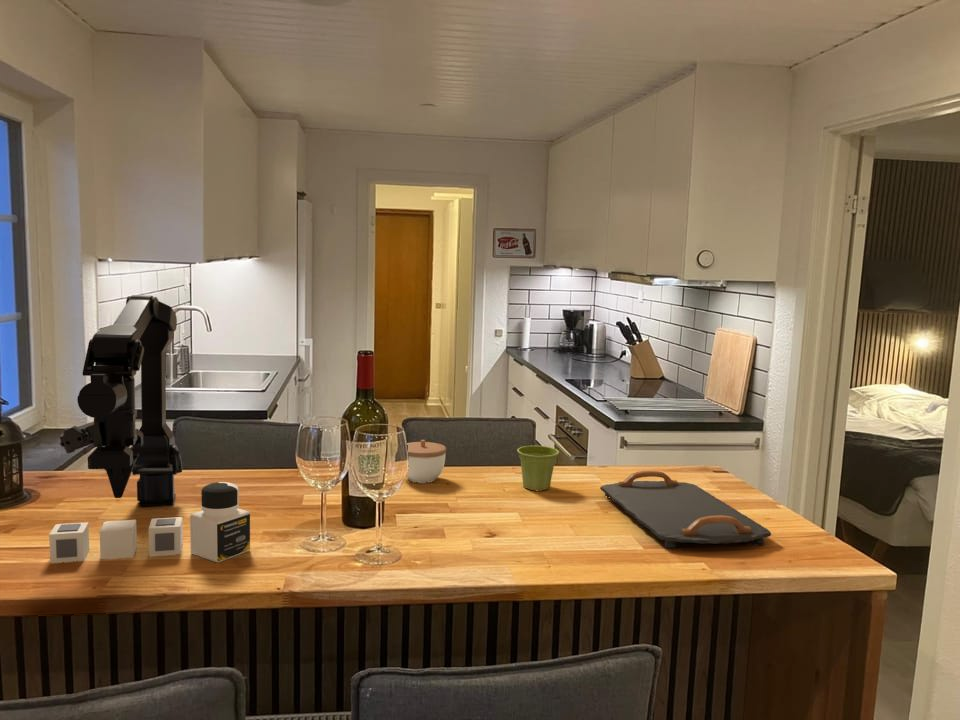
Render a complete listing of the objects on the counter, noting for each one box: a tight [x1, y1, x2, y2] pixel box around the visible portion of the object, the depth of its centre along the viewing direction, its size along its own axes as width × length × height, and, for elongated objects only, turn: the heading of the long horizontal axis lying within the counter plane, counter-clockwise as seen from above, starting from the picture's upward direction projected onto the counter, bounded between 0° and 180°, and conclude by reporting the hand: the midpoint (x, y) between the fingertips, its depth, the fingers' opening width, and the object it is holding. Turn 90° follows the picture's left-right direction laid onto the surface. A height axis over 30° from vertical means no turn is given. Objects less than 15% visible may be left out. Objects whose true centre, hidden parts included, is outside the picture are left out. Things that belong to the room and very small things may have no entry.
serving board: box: [599, 470, 772, 550], centre depth 164 cm, size 39×23×6 cm, turn 12°
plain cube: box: [99, 519, 138, 561], centre depth 136 cm, size 5×5×5 cm
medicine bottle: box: [189, 481, 251, 563], centre depth 137 cm, size 7×7×12 cm
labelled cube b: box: [48, 521, 90, 564], centre depth 133 cm, size 5×5×5 cm
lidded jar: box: [406, 439, 447, 484], centre depth 185 cm, size 11×11×9 cm
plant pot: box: [516, 445, 560, 491], centre depth 182 cm, size 9×9×9 cm
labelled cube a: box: [148, 516, 184, 557], centre depth 138 cm, size 5×5×5 cm
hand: (118, 497), depth 136 cm, fingers closed
